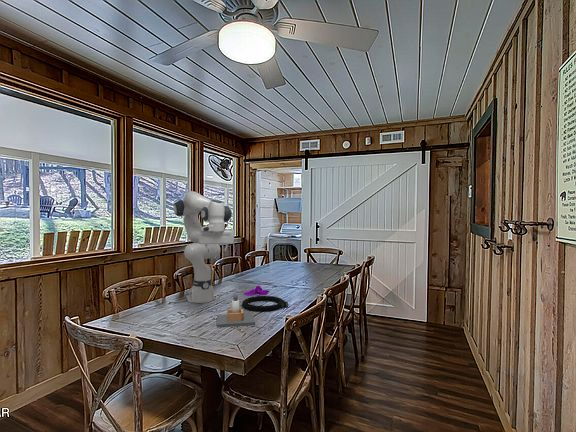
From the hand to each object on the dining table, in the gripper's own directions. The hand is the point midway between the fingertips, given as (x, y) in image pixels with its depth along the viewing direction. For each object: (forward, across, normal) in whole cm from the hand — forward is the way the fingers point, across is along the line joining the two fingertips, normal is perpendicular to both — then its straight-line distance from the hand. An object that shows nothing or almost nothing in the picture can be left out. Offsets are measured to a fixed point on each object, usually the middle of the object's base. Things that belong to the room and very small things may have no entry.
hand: (216, 251), depth 190 cm
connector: (+36, -10, +12) cm, 39 cm away
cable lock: (+38, -31, -14) cm, 51 cm away
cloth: (+38, -32, -46) cm, 68 cm away
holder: (+37, -10, +12) cm, 40 cm away
